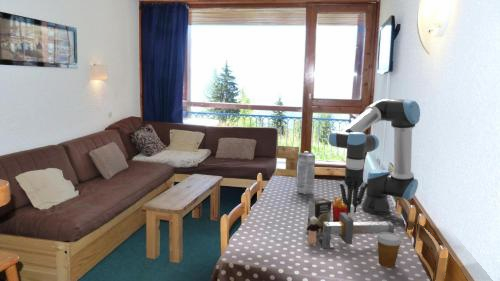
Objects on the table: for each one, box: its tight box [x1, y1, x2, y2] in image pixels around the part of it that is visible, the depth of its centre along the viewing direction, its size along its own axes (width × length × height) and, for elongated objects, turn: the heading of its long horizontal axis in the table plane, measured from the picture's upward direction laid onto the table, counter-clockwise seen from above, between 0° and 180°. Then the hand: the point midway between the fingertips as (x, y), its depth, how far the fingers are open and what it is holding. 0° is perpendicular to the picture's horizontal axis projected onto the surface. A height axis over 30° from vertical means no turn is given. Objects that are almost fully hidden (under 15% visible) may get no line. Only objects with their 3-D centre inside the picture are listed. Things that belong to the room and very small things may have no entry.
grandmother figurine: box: [304, 217, 321, 246], centre depth 177 cm, size 8×4×13 cm, turn 119°
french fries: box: [330, 196, 348, 222], centre depth 200 cm, size 9×8×15 cm
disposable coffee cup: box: [376, 232, 402, 269], centre depth 160 cm, size 10×10×12 cm
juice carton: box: [296, 150, 316, 195], centre depth 255 cm, size 9×10×27 cm
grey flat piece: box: [337, 213, 355, 245], centre depth 177 cm, size 2×10×10 cm, turn 7°
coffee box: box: [306, 198, 332, 237], centre depth 190 cm, size 9×6×16 cm
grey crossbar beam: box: [317, 220, 395, 250], centre depth 178 cm, size 34×8×10 cm, turn 97°
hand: (350, 219), depth 176 cm, fingers closed
